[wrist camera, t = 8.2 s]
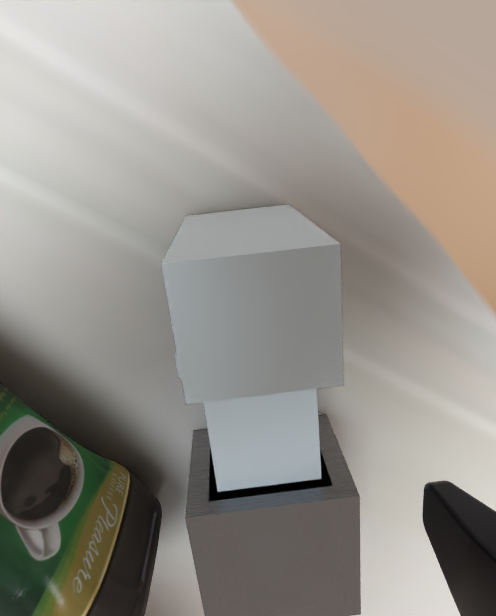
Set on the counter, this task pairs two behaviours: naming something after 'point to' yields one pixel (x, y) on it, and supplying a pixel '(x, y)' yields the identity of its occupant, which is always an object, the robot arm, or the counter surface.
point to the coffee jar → (69, 524)
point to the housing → (276, 539)
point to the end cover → (257, 337)
